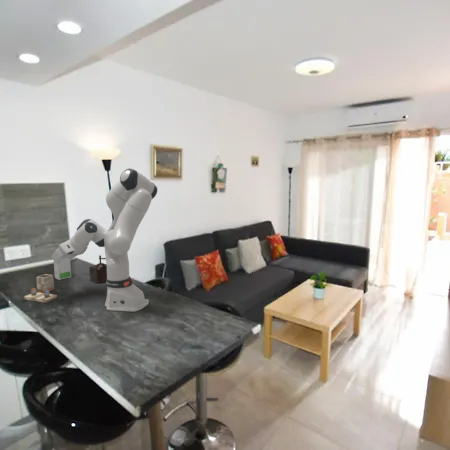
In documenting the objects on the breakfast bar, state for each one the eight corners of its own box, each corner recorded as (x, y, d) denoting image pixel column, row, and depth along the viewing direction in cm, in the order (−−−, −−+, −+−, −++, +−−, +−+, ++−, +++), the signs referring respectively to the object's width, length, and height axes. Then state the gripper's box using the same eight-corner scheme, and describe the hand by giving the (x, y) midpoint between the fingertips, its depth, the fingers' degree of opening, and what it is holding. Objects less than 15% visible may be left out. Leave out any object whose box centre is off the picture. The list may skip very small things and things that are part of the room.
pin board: (56, 297, 163) (56, 288, 162) (46, 302, 156) (45, 293, 156) (35, 294, 167) (34, 285, 166) (24, 299, 160) (23, 289, 160)
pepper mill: (98, 284, 185) (97, 256, 182) (89, 280, 191) (87, 253, 189) (120, 278, 197) (119, 251, 194) (111, 274, 204) (110, 249, 201)
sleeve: (54, 289, 175) (53, 275, 173) (45, 293, 169) (44, 278, 167) (46, 288, 176) (44, 274, 175) (37, 292, 170) (35, 277, 169)
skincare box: (58, 280, 191) (57, 256, 188) (54, 278, 194) (52, 255, 192) (71, 277, 197) (70, 254, 195) (67, 275, 201) (65, 252, 199)
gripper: (86, 238, 174) (74, 252, 178) (57, 244, 154) (44, 261, 159) (93, 246, 173) (80, 260, 177) (64, 254, 154) (51, 270, 158)
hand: (63, 260), depth 168 cm, fingers open, 8 cm apart
